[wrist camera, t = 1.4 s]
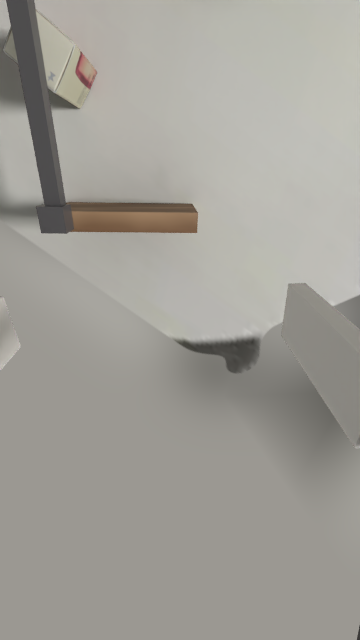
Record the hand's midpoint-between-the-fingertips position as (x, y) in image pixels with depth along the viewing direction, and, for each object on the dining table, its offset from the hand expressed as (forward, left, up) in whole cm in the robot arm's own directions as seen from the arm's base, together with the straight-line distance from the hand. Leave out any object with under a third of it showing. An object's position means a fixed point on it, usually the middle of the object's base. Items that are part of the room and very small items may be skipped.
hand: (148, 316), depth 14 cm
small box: (-15, -10, -29) cm, 34 cm away
